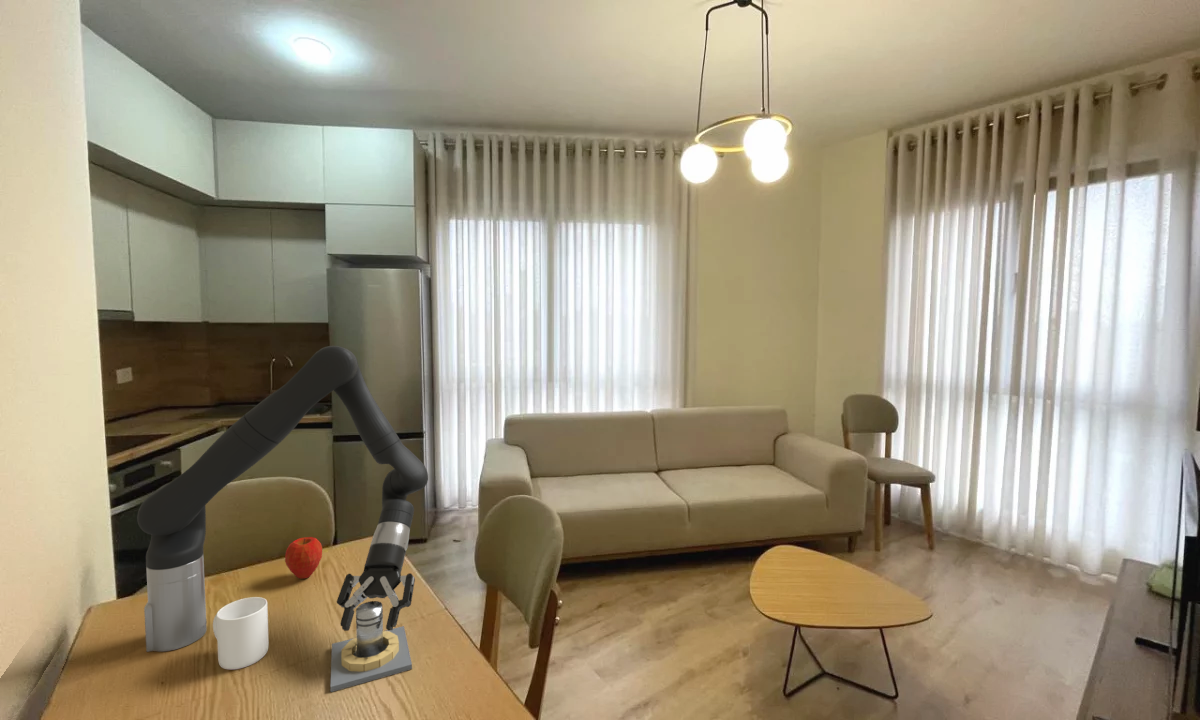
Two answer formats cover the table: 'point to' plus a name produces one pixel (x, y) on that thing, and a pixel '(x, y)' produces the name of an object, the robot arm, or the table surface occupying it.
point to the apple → (303, 556)
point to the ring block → (369, 660)
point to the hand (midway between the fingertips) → (367, 629)
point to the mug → (241, 632)
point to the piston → (369, 629)
